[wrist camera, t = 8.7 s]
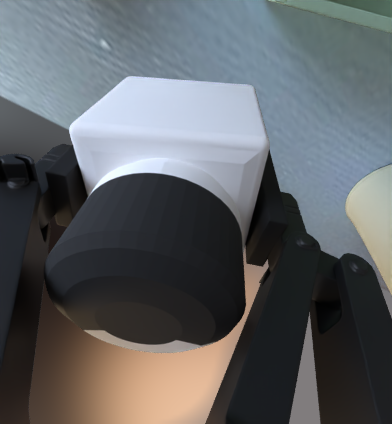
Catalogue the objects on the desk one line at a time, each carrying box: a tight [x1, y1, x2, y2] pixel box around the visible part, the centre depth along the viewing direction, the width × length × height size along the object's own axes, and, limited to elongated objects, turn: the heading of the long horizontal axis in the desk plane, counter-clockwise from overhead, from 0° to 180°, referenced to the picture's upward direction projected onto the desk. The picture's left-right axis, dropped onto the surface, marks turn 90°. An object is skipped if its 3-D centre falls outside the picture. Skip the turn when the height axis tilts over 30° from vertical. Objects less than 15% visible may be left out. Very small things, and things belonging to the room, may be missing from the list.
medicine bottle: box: [44, 76, 270, 353], centre depth 12 cm, size 7×7×12 cm
